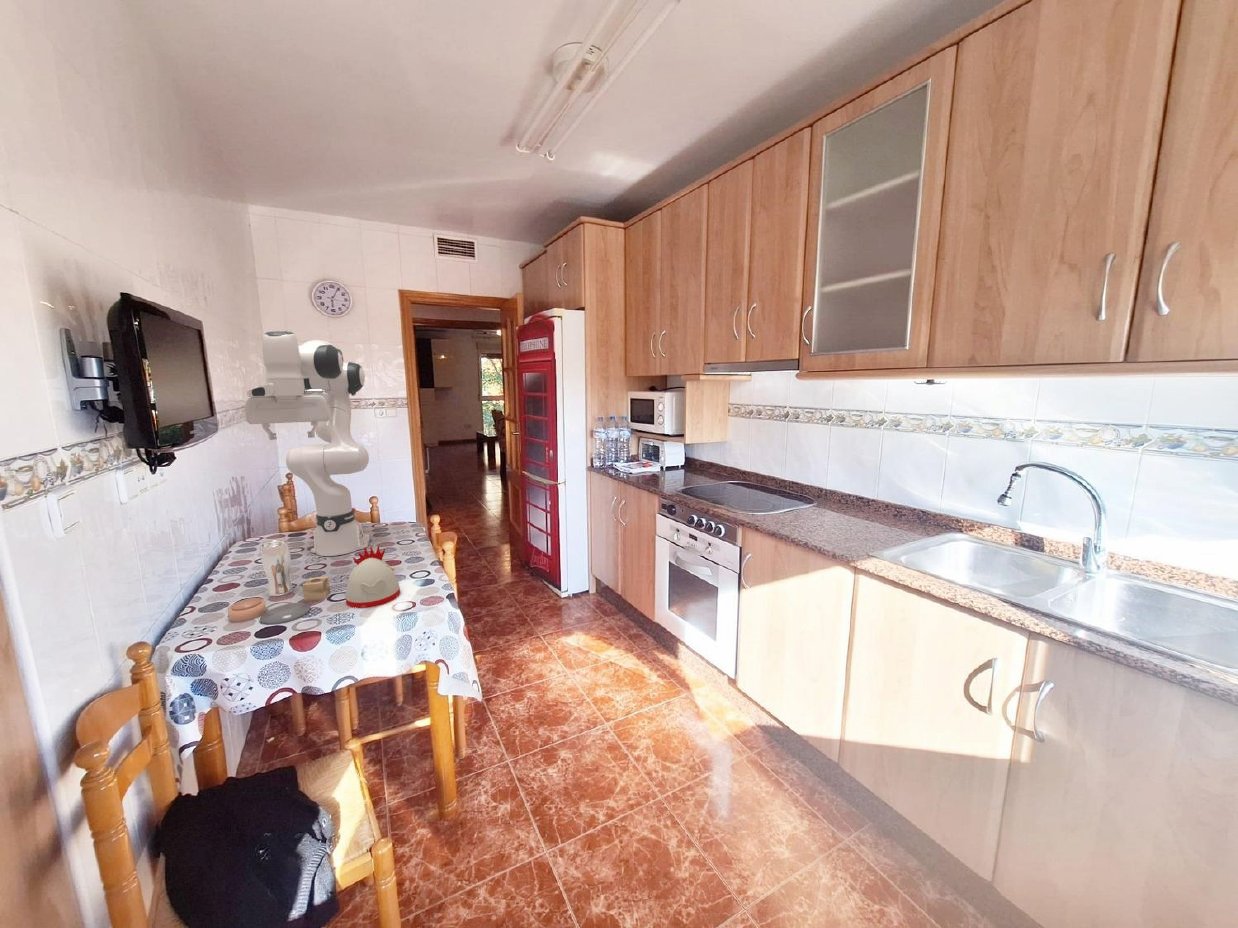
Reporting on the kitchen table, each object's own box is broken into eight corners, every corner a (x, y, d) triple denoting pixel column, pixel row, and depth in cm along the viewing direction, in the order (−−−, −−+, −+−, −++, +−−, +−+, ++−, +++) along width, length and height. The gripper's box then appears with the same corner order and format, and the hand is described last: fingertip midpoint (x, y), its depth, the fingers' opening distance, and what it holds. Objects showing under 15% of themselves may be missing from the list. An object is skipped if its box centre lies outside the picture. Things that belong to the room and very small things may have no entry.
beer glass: (301, 588, 147) (294, 540, 144) (279, 598, 140) (272, 548, 138) (282, 586, 149) (276, 538, 146) (260, 595, 142) (253, 546, 140)
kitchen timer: (402, 600, 138) (397, 549, 135) (346, 612, 131) (340, 559, 128) (397, 583, 149) (392, 536, 147) (345, 593, 143) (339, 544, 140)
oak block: (311, 594, 143) (309, 577, 142) (330, 592, 144) (328, 575, 143) (304, 601, 138) (302, 584, 137) (324, 599, 139) (321, 582, 138)
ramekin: (239, 610, 134) (237, 598, 133) (272, 607, 135) (270, 595, 135) (222, 624, 126) (220, 611, 125) (257, 620, 128) (255, 608, 127)
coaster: (273, 606, 135) (273, 604, 135) (317, 602, 137) (316, 600, 137) (252, 626, 124) (251, 624, 124) (300, 621, 126) (299, 619, 126)
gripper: (330, 389, 145) (335, 435, 148) (246, 390, 138) (253, 439, 140) (326, 389, 140) (332, 437, 142) (239, 390, 132) (246, 441, 134)
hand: (292, 438), depth 141 cm, fingers open, 8 cm apart
